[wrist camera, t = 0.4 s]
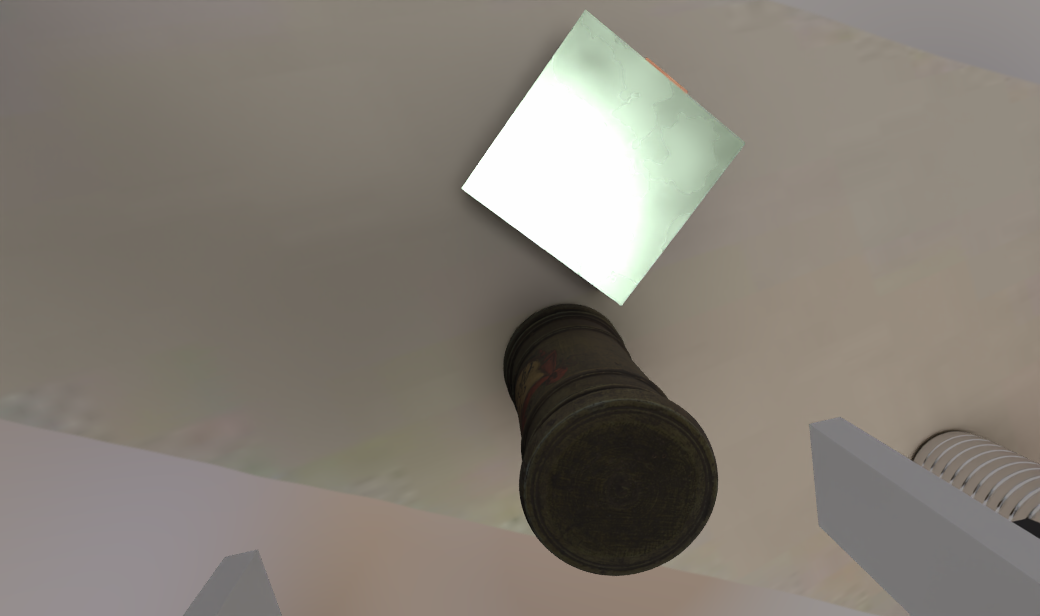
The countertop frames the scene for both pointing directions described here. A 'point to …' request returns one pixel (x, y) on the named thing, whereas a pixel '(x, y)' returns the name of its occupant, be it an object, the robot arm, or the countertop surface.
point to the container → (603, 448)
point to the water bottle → (985, 473)
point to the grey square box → (603, 160)
